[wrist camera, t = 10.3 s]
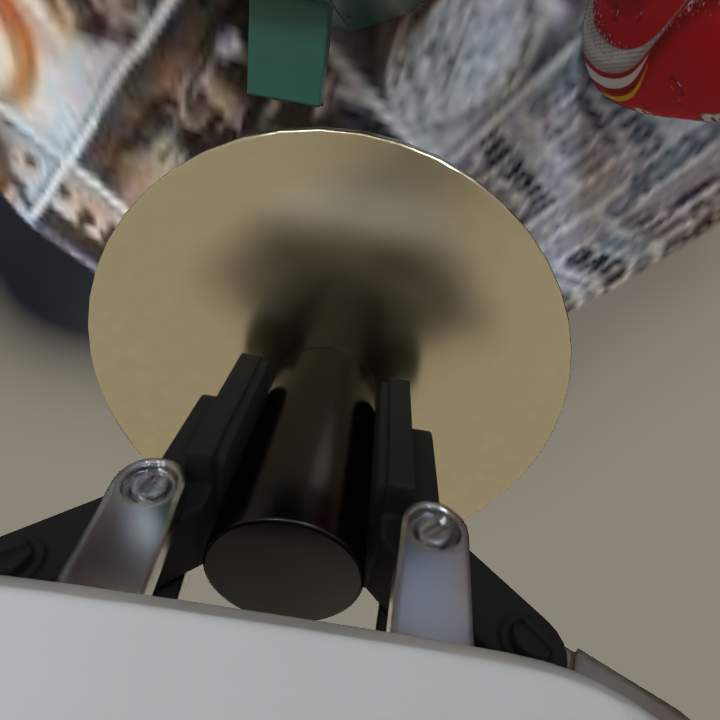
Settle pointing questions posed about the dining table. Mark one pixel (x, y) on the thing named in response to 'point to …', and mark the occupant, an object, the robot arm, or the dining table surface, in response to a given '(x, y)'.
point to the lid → (328, 340)
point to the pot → (304, 42)
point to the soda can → (656, 55)
